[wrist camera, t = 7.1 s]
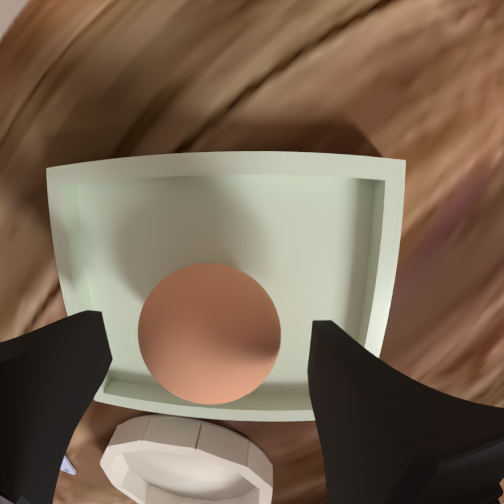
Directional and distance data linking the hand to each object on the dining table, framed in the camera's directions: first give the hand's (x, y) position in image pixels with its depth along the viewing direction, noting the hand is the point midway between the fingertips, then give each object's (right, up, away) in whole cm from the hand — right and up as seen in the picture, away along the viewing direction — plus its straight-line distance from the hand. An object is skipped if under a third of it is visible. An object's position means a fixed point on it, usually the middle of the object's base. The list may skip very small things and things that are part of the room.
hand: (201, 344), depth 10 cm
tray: (0, +1, +4) cm, 4 cm away
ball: (0, +1, +3) cm, 3 cm away
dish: (-3, -12, +8) cm, 15 cm away
